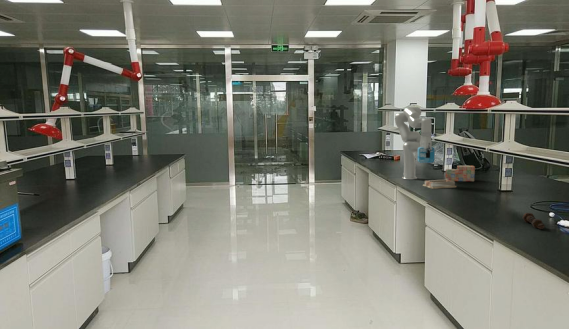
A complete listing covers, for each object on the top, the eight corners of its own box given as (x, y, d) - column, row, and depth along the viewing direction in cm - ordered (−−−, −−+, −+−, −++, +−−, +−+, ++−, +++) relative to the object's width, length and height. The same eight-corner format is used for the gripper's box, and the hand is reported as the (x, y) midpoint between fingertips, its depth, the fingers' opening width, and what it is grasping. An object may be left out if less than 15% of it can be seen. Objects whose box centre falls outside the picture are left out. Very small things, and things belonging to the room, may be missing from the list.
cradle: (422, 185, 321) (422, 180, 321) (445, 184, 325) (446, 179, 324) (432, 188, 308) (432, 183, 307) (456, 187, 311) (456, 182, 311)
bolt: (539, 233, 201) (525, 224, 216) (549, 229, 200) (535, 219, 215) (533, 223, 201) (520, 215, 216) (543, 219, 200) (529, 210, 215)
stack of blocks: (446, 181, 338) (447, 166, 336) (445, 179, 344) (445, 165, 342) (474, 181, 334) (475, 166, 332) (472, 180, 340) (472, 165, 338)
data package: (418, 162, 321) (419, 147, 320) (417, 162, 326) (417, 147, 325) (434, 162, 321) (434, 147, 319) (432, 161, 325) (432, 146, 324)
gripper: (416, 134, 329) (416, 156, 331) (427, 135, 312) (427, 158, 314) (425, 133, 330) (424, 156, 332) (436, 134, 313) (436, 158, 315)
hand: (425, 157), depth 323 cm, fingers closed on data package, 5 cm apart
